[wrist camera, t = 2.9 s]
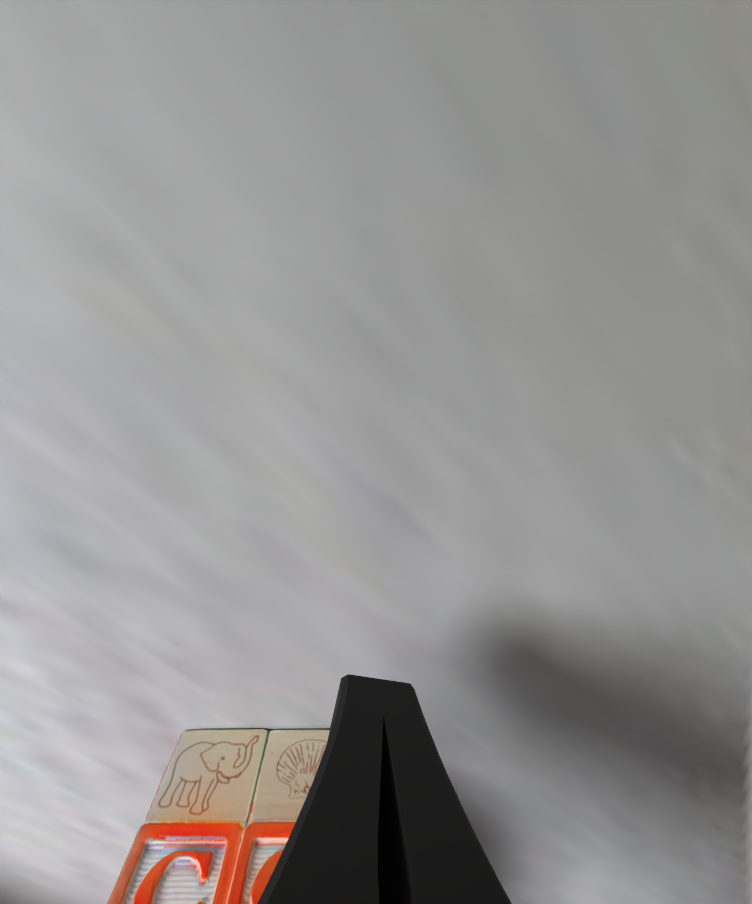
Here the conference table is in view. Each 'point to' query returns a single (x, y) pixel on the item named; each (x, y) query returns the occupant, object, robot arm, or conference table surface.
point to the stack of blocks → (220, 817)
